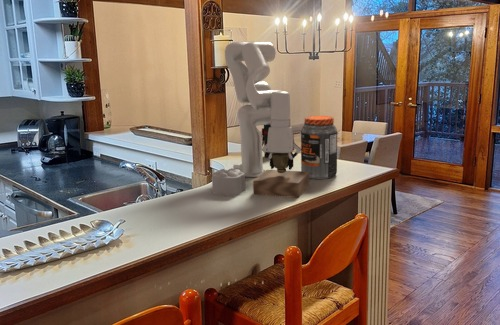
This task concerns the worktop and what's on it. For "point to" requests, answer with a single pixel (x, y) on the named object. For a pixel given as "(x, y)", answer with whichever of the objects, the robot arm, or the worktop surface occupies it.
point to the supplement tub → (319, 147)
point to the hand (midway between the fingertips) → (281, 168)
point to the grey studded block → (228, 182)
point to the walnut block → (281, 183)
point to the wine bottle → (265, 136)
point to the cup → (280, 161)
